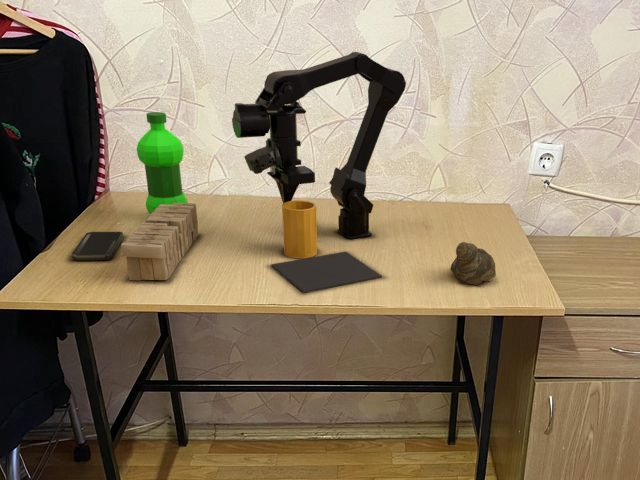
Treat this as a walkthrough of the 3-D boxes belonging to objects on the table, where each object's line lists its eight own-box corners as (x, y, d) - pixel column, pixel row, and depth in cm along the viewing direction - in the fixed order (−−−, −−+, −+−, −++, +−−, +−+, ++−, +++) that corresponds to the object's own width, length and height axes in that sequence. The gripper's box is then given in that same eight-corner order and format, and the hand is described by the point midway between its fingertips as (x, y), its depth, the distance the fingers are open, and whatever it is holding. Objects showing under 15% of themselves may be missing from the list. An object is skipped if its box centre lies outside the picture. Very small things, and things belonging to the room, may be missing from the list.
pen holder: (308, 245, 166) (307, 198, 161) (322, 255, 161) (321, 207, 156) (279, 250, 162) (276, 202, 157) (292, 260, 157) (290, 212, 152)
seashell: (433, 243, 154) (445, 259, 145) (479, 213, 153) (494, 228, 145) (458, 283, 160) (471, 301, 151) (502, 255, 159) (518, 271, 150)
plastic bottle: (144, 226, 171) (129, 117, 159) (149, 212, 180) (135, 109, 168) (189, 225, 173) (177, 118, 161) (191, 211, 182) (180, 109, 170)
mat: (345, 253, 163) (345, 251, 163) (381, 277, 151) (381, 275, 151) (271, 266, 153) (271, 264, 153) (303, 293, 142) (303, 291, 142)
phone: (70, 255, 149) (87, 231, 162) (71, 260, 149) (88, 236, 162) (110, 255, 150) (124, 231, 163) (111, 260, 151) (125, 236, 164)
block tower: (166, 237, 167) (124, 282, 141) (161, 202, 164) (118, 241, 137) (200, 238, 168) (165, 284, 142) (197, 203, 164) (160, 243, 138)
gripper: (232, 128, 157) (237, 198, 165) (264, 147, 144) (268, 222, 151) (279, 125, 163) (282, 193, 170) (315, 143, 150) (316, 215, 157)
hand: (286, 205), depth 162 cm, fingers closed
